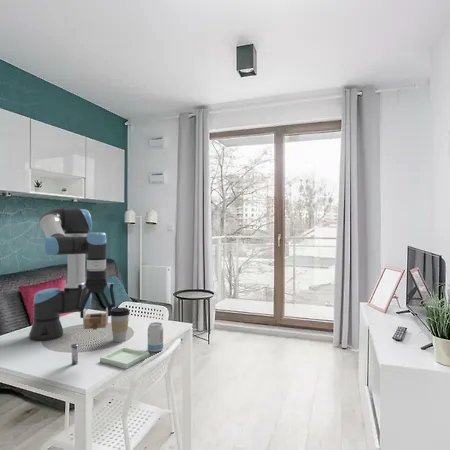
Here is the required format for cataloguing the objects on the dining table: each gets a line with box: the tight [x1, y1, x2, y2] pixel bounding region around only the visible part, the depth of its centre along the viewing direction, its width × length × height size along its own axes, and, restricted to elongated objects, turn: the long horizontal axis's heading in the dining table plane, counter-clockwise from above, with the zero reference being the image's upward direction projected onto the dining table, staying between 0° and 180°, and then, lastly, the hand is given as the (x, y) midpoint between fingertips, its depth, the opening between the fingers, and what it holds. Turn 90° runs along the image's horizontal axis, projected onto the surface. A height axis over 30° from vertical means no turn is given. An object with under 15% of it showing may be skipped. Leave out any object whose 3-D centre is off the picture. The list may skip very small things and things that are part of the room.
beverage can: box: [147, 321, 164, 354], centre depth 155 cm, size 7×7×12 cm
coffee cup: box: [110, 307, 131, 343], centre depth 168 cm, size 9×9×15 cm
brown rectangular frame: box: [83, 312, 107, 330], centre depth 141 cm, size 10×8×4 cm
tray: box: [99, 346, 150, 370], centre depth 145 cm, size 14×14×2 cm
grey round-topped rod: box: [70, 343, 80, 366], centre depth 140 cm, size 3×3×8 cm
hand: (95, 324), depth 141 cm, fingers closed on brown rectangular frame, 8 cm apart
